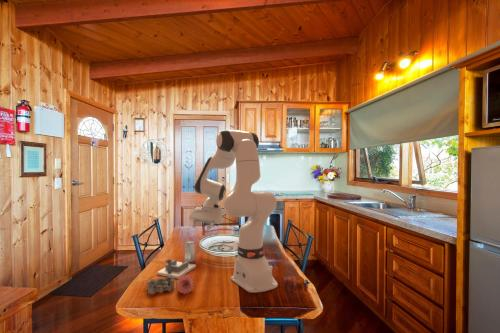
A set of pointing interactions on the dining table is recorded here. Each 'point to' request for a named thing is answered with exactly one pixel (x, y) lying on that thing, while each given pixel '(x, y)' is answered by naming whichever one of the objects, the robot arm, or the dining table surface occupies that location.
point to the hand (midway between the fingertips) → (200, 228)
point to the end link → (189, 251)
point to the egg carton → (155, 284)
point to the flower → (185, 284)
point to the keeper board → (176, 268)
